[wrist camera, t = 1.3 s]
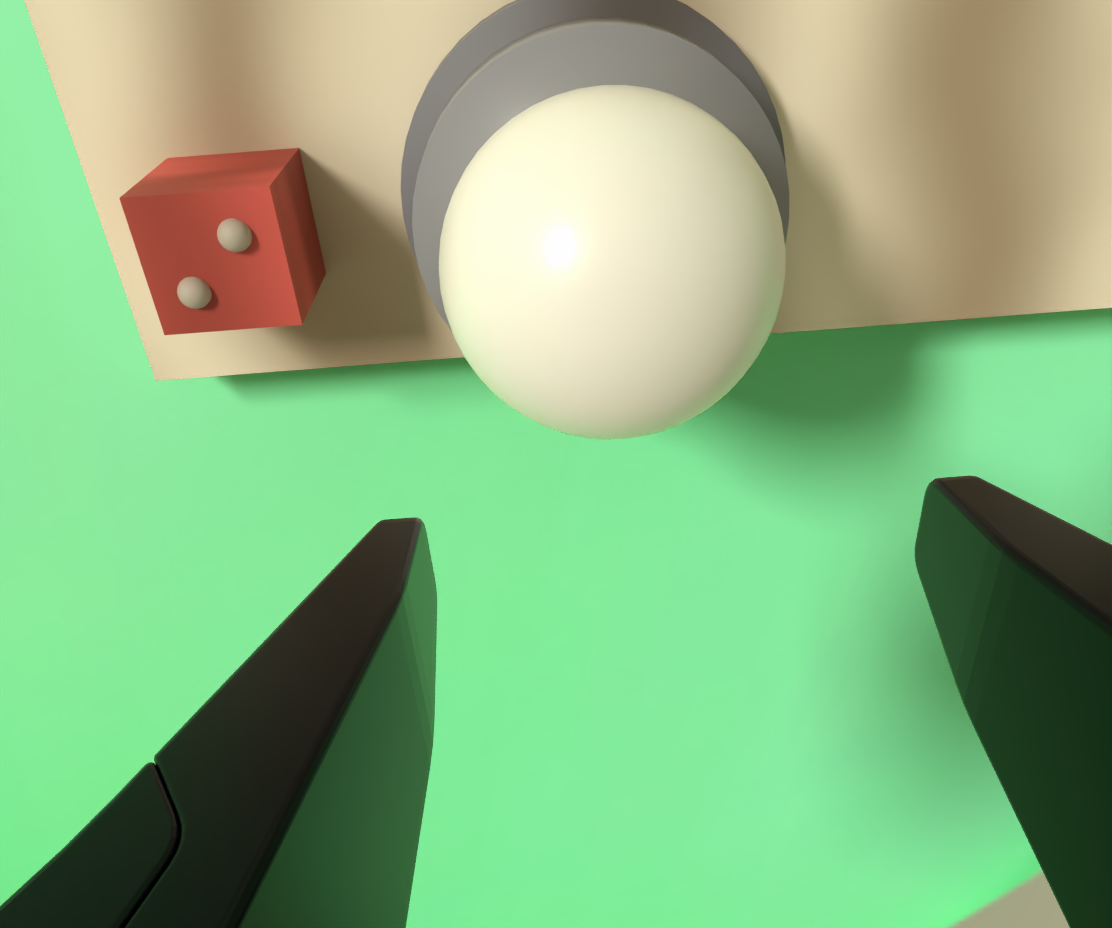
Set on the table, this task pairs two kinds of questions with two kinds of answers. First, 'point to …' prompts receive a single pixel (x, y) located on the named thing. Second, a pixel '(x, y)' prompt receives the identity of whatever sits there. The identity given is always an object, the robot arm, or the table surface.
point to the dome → (604, 226)
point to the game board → (487, 26)
